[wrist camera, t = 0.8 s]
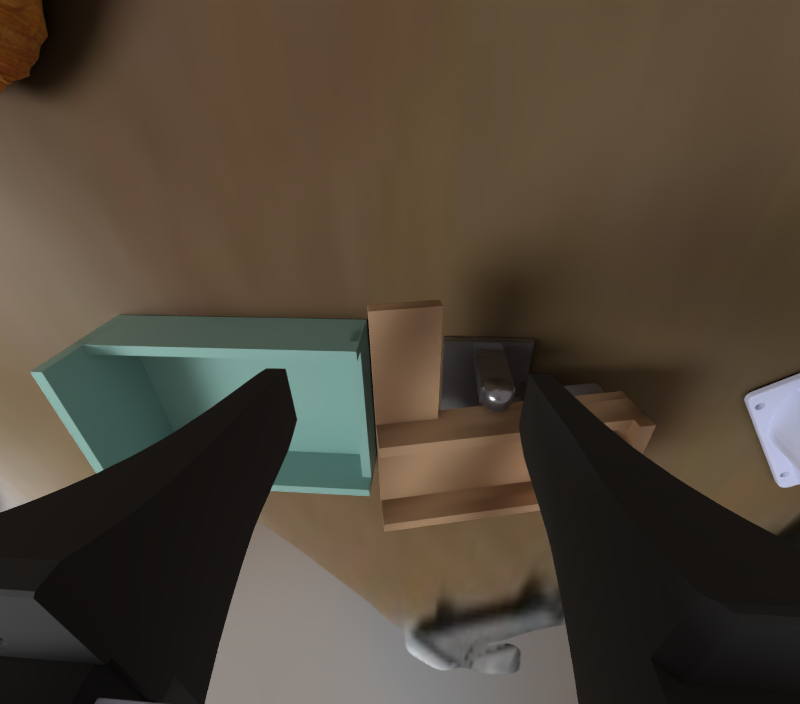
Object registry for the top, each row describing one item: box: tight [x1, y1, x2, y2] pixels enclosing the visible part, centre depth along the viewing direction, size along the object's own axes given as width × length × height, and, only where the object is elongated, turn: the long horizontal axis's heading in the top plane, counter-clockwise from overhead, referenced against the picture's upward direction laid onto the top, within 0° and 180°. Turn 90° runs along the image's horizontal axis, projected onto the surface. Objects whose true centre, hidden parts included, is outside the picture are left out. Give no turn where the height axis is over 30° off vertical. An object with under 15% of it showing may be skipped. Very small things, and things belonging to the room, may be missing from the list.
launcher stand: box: [440, 336, 534, 412], centre depth 22 cm, size 5×9×5 cm, turn 1°
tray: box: [30, 315, 376, 496], centre depth 23 cm, size 15×11×6 cm
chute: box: [367, 300, 656, 532], centre depth 19 cm, size 13×12×4 cm
